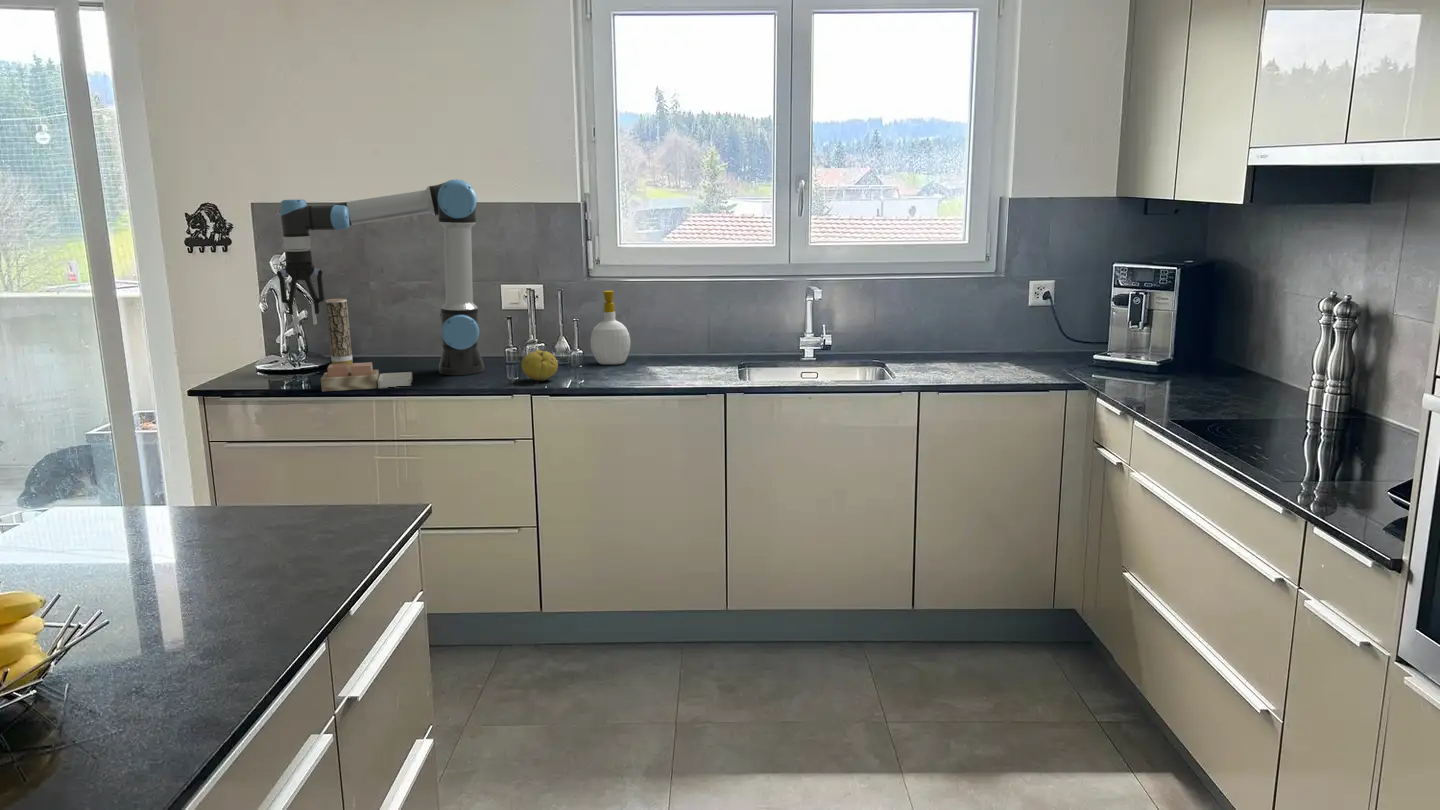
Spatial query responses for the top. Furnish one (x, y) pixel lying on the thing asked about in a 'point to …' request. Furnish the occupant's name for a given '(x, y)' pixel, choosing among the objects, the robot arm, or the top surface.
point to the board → (349, 382)
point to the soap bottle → (610, 336)
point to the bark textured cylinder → (339, 331)
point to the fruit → (539, 365)
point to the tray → (394, 379)
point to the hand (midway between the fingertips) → (305, 324)
